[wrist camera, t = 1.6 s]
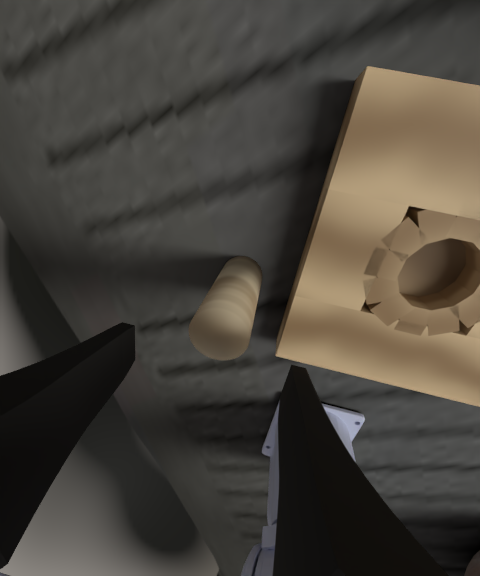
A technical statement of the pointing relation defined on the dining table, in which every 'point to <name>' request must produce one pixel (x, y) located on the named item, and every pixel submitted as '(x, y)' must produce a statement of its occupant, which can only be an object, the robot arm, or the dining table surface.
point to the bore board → (396, 242)
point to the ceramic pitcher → (473, 566)
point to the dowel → (228, 311)
